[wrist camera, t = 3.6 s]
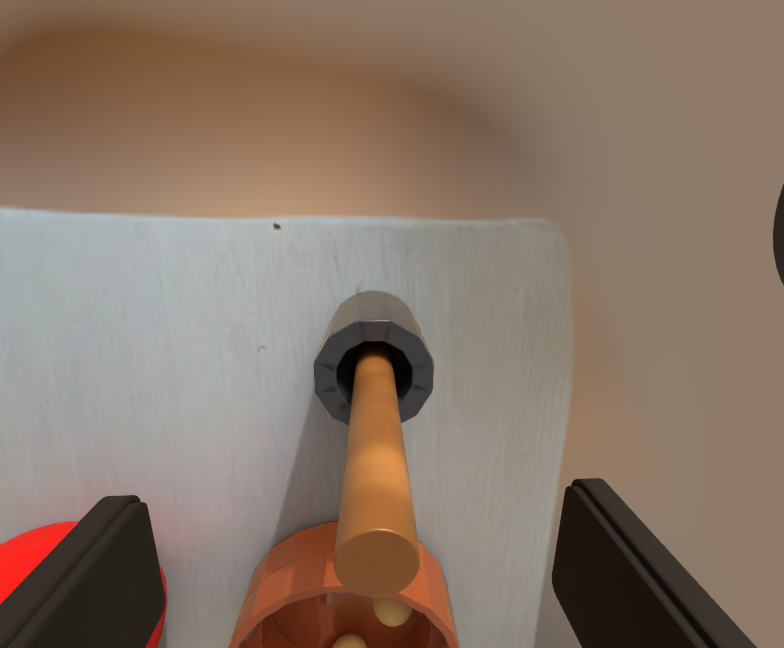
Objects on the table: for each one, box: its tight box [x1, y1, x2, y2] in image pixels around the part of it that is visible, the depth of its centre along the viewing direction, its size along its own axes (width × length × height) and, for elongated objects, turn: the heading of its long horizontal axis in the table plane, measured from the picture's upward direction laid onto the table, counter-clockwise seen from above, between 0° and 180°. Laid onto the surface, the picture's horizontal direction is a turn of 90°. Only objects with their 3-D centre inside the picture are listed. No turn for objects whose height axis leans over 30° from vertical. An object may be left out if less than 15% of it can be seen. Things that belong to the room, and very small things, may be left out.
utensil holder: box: [314, 291, 434, 425], centre depth 20 cm, size 5×5×7 cm
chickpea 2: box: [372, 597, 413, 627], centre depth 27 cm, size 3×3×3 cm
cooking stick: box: [334, 341, 420, 598], centre depth 15 cm, size 2×2×16 cm
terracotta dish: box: [229, 521, 460, 648], centre depth 27 cm, size 15×15×6 cm
